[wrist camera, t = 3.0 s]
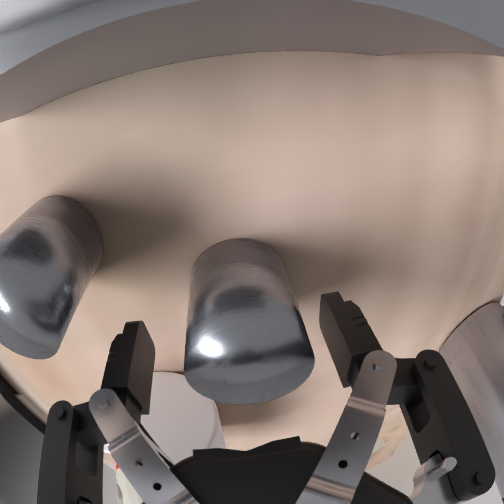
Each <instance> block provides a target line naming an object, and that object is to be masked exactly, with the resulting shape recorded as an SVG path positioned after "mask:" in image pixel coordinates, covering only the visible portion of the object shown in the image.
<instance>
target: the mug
mask: <svg viewBox="0 0 504 504" xmlns="http://www.w3.org/2000/svg"><path fill="white" fill-rule="evenodd" d="M141 423H142V424H143V426H144V427H145V428H146V430H147V431H148V432H149V434H150V435H151V436H152V438H153V439H154V440H155V442H156V443H157V444H158V445H159V447H160V448H161V449H162V450H163V451H164V453H165V454H166V455H167V456H168V457H169V458H170V459H171V460H172V461H173V462H174V463H175V464H177V463H178V462H179V461H181V460H183V459H185V458H187V457H190V456H193V449H210V448H223V449H226V445H225V440H224V436H223V432H222V427H221V423H220V418H219V414H218V410H217V406H216V404H215V402H214V400H212V399H209V398H207V397H204V396H202V395H201V394H199V393H198V392H196V391H195V390H194V389H193V388H192V387H191V386H190V385H189V384H188V382H187V381H186V378H185V376H184V375H181V374H178V373H173V372H153V379H152V389H151V400H150V412H149V415H141ZM108 446H109V444H104V452H106V453H109V454H111V453H110V452H109V450H108Z"/></svg>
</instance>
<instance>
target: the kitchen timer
mask: <svg viewBox="0 0 504 504" xmlns="http://www.w3.org/2000/svg"><path fill="white" fill-rule="evenodd" d="M116 477H117V484H116V486H117V495H118V502H119V503H124V504H141V503H142V502H143V500H142V498H141V497H140V496H139V494H138V493H137V492H136V490H135V489H134V488H133V486H132V485H131V484H130V482H129V481H128V479H127V478H126V476H125V475H124V473H123V472H122V471H121V469H120V467H119V466H118V464H117V466H116Z"/></svg>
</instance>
